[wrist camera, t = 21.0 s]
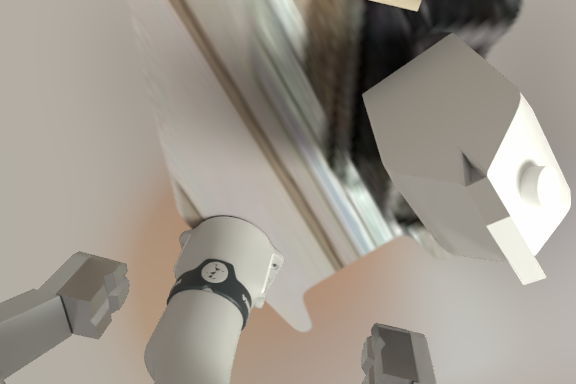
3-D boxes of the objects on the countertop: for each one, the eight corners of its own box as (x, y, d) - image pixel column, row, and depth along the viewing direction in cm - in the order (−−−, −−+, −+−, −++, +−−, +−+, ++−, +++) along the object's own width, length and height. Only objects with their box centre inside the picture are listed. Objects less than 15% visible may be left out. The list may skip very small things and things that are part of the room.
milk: (361, 94, 42) (380, 228, 21) (452, 32, 37) (601, 124, 16) (409, 163, 46) (465, 332, 25) (496, 116, 41) (659, 278, 20)
